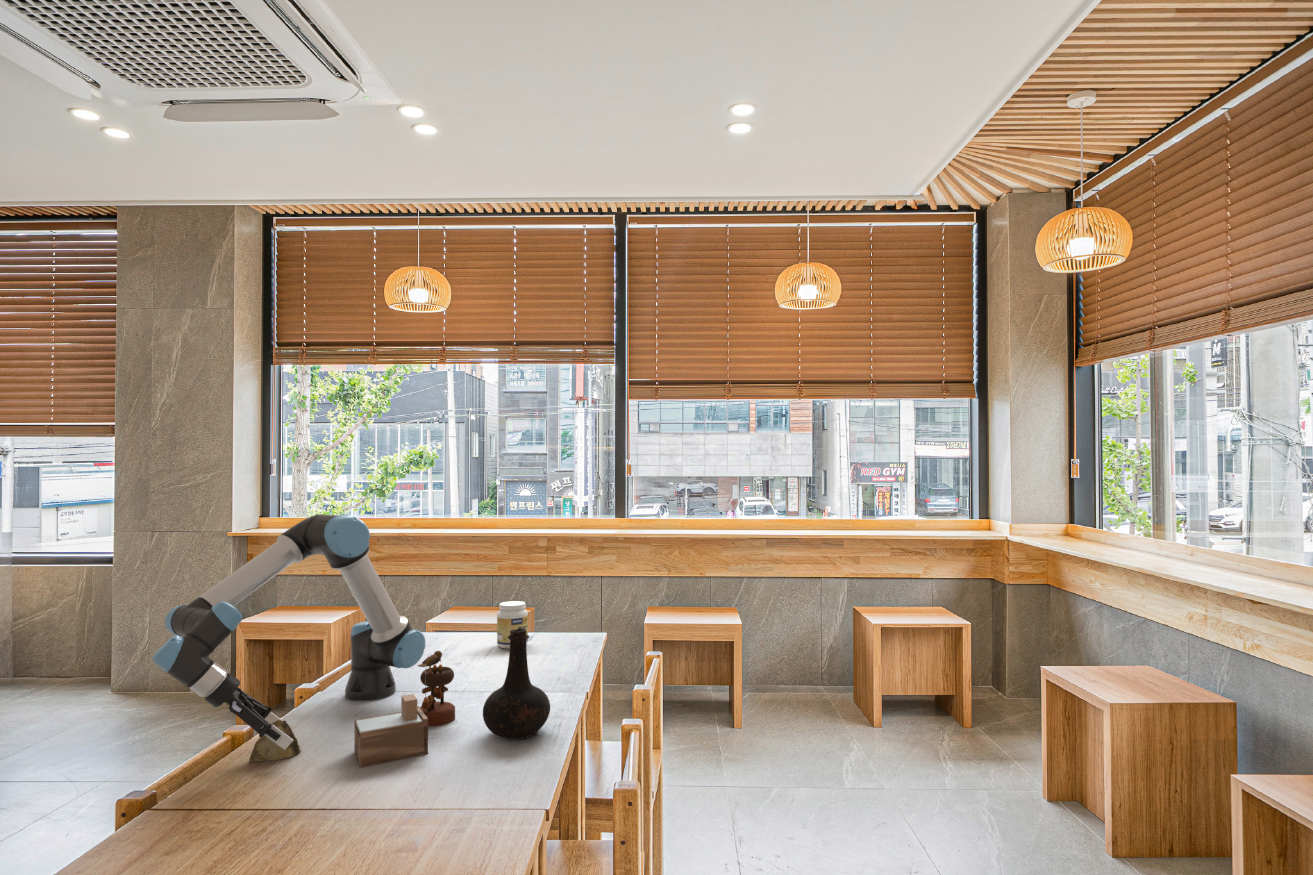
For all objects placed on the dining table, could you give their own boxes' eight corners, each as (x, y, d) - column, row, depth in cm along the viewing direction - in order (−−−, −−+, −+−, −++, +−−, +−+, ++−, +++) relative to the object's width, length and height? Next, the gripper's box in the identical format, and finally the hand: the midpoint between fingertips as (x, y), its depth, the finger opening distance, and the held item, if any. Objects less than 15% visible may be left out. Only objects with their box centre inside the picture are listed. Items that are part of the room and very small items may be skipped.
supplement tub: (512, 650, 285) (512, 607, 286) (490, 646, 292) (490, 604, 293) (534, 644, 296) (533, 602, 296) (512, 640, 302) (512, 599, 303)
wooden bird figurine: (446, 729, 202) (439, 656, 203) (408, 731, 203) (402, 658, 204) (466, 710, 217) (460, 642, 218) (431, 712, 219) (426, 645, 219)
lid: (355, 724, 186) (355, 700, 186) (414, 714, 193) (414, 691, 194) (360, 735, 178) (361, 711, 179) (422, 724, 186) (422, 700, 186)
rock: (236, 757, 178) (272, 754, 177) (248, 721, 184) (283, 718, 182) (264, 769, 187) (299, 766, 185) (275, 735, 192) (308, 732, 190)
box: (354, 751, 187) (354, 717, 187) (418, 739, 195) (418, 706, 195) (360, 767, 177) (360, 730, 177) (428, 753, 185) (427, 718, 185)
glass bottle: (469, 741, 193) (469, 634, 194) (506, 718, 210) (505, 620, 211) (529, 749, 187) (528, 639, 188) (561, 725, 204) (560, 624, 205)
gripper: (204, 685, 186) (274, 736, 193) (200, 711, 167) (278, 766, 174) (229, 661, 189) (296, 712, 196) (227, 684, 169) (302, 739, 177)
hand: (287, 737), depth 185 cm, fingers open, 10 cm apart
